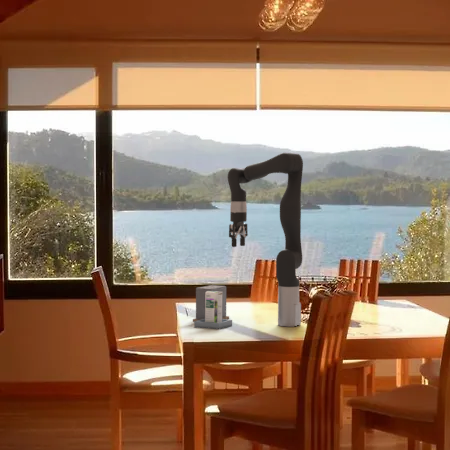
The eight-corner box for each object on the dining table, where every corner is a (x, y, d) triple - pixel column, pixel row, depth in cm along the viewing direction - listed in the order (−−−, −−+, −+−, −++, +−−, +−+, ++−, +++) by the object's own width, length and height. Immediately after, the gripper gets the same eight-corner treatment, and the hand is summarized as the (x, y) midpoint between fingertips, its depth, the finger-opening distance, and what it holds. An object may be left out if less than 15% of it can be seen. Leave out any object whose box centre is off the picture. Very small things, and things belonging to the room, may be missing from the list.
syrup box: (204, 325, 356) (204, 291, 356) (211, 323, 361) (211, 290, 361) (216, 326, 353) (216, 292, 353) (222, 324, 359) (222, 291, 358)
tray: (232, 325, 360) (232, 319, 360) (218, 329, 349) (218, 323, 349) (208, 323, 365) (208, 317, 365) (194, 327, 355) (194, 321, 355)
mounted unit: (229, 318, 381) (229, 286, 380) (212, 323, 367) (212, 289, 366) (210, 316, 385) (210, 284, 385) (192, 321, 371) (192, 288, 371)
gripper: (238, 211, 391) (238, 245, 391) (224, 211, 378) (223, 246, 379) (252, 211, 387) (252, 245, 388) (238, 211, 374) (238, 247, 375)
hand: (238, 246), depth 383 cm, fingers open, 8 cm apart
